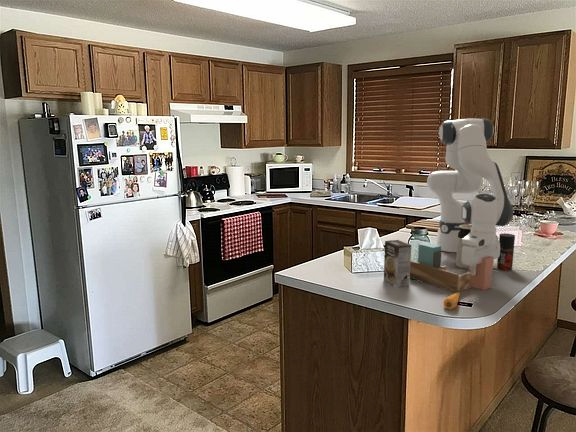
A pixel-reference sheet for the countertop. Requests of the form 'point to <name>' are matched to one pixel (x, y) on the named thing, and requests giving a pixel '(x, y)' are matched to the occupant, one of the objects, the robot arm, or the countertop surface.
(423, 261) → the teal rectangular block
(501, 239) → the deodorant
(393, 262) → the coffee box
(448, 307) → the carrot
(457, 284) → the brown wooden box
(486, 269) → the salmon pink block
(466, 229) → the travel mug
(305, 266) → the countertop surface
